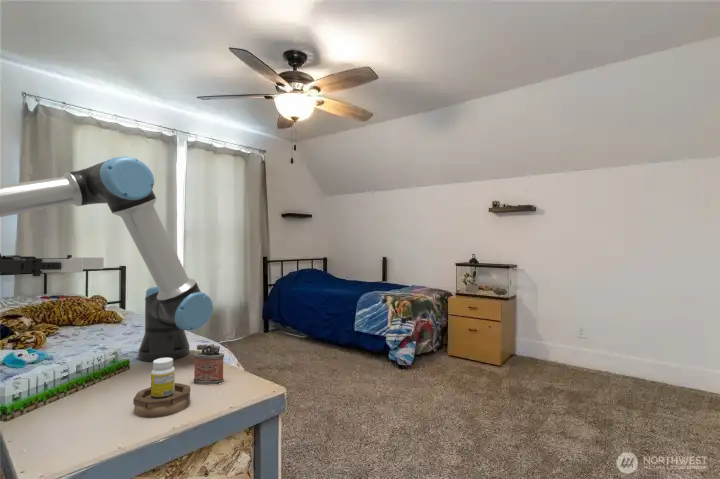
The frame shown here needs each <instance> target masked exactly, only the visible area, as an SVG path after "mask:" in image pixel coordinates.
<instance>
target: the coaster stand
mask: <svg viewBox="0 0 720 479" xmlns="http://www.w3.org/2000/svg"><path fill="white" fill-rule="evenodd" d="M132 400H133V401H132V402H133V405H134V414H135V415H136V416H138V417H140V418H150V419H151V418H161V417H165V416H166V417H167V416H171V415H173V414H176V413H179V412H181V411H183V410H185V409H186V408H188V407H189V406H190V404H191V385H188V384H184V383H179V382H175V395H174V396H172V397H170V398H163V399H155V400H152V399H151V386H149V387H147V388H145V389H141V390H140V391H137V392H136V394H135V396H134V397H133V399H132Z"/></svg>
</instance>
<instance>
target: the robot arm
mask: <svg viewBox="0 0 720 479" xmlns="http://www.w3.org/2000/svg"><path fill="white" fill-rule="evenodd" d="M154 185H155V177H154V174H153V172H152V171H151V169H150V168H149V166H148V165H147V164H145V162H143V161H141V160H139V159H137V158H134V157H132V156H118V157H112V158H110V159H107V160H105V161H102V162H99V163H97V164H94V165H92V166H89V167H87V168H86V167H85V168H82V169H80V170H79V169H78V170H76V171H67V172H65V173H64V174H63V175H62V176H60V177H52V178H51V177H50V178H46V179H45V178H44V179H37V180H32V181H31V180H30V181H23V182H17V183H8V184H0V218H3V217H9V216H14V215H20V214H24V213H30V212H35V211H40V210H41V211H42V210H45V209H51V208H57V207H61V206H68V205H74V206H76V207H80V206H81V207H83V206H87V205H97V204H107V207H109V210H110V211H111V213H112V214H113V215H116V216H118V217H120V218H121V219H122V221H123V224H124V225H125V227H126V229H127V231H128V233H129V234H130V237H131V239H132V241H133V243H134V244H135V247H136V248H137V250H138V252H139V254H140V256H141V257H142V260H143V261H144V263H145V265H146V266H145V267H146V268H147V269H148V271H149V274H150V275H151V277H152V279H153V281H154V283H155V285H156V286H152V287H148V288H147V289H146V291H145V297H144V301H145V306H144V308H145V310H144V312H145V313H144V335H143V338H142V341H141V343H140V346H139V348H138V350H137V353H138V354H137V359H138V360H141V361H144V362H153V361H154V360H156V359H159V358H172V359H173V360H176V359H179V358H182V357H185V356H187V355H188V354H190V343H189V341H188V340H189V339H188V338H187V335H186V332H185V331H195V330H199V329H201V328H203V327H204V326H205V325H206V324H207V323H208V322H209V321H210V319H211V316H212V314H213V310H214V305H213V301H212V299H211V297H210V296H209V295H207V294H206V293H205V292H203V291H201V289H200V288H199V285H198V283H197V281H196V279H193V278H190V277H189V276H188V274H187V273H186V270H185V269H184V267H183V265H182V263H181V260H180V257H179V256H178V254H177V251H176V250H175V247H174V246H173V244H172V242H171V240H170V237H169V236H168V233H167V230H166V229H165V226H164V225H163V223H162V221H161V218H160V217H159V215H158V213H157V210H156V208H155V204H156V201H157V197H156V194H155V192H154V190H153V189H154ZM104 260H105V257H73V255H72V254H67V256H66V257H57V258H56V257H53V258H52V257H51V258H50V257H48V258H47V257H46V258H41V257H40V258H39V257H36V256H22V255H16V254H14V255H13V254H12V255H2V253H1V252H0V276H11V275H19V274H26V275H28V274H32V277H41V273H42V274H54V273H56V274H57V273H58V274H59V273H63V274H64V273H83V272H84V270H103V269H104V266H105V265H104Z"/></svg>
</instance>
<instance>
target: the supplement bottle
mask: <svg viewBox="0 0 720 479" xmlns="http://www.w3.org/2000/svg"><path fill="white" fill-rule="evenodd" d="M173 365H174V359H172V358H159V359H156V360H154V361H152V368H153V369H152V370H151V372H150V379H151V380H150V381H151V382H150V387H151V399H152V400H155V399H163V398H170V397H172V396H174V395H175V383H176V380H175V378H176V377H175V376H176V374H175V373H176V369H175V368H176V367H174V366H173Z"/></svg>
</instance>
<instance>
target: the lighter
mask: <svg viewBox="0 0 720 479" xmlns="http://www.w3.org/2000/svg"><path fill="white" fill-rule="evenodd" d="M220 348H221V346H220V345H215V344H213V343H211V344H198V345H197V346H196V350H197V351H200V352H195V353H194V354H193V358H194V373H193V374H194V375H193V376H194V378H193V384H195V385H207V386H210V385H209V384H219V383H222V382H225V380H224V379H225V378H224V358H225V353H222V352H220V350H221V349H220ZM222 384H223V383H222ZM219 385H220V384H219Z"/></svg>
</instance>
